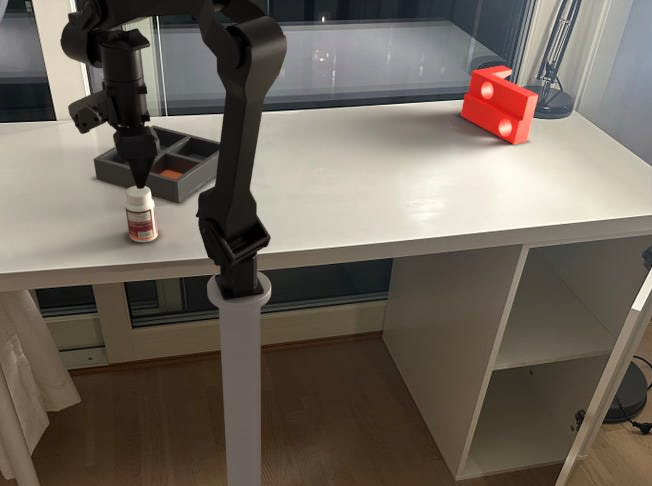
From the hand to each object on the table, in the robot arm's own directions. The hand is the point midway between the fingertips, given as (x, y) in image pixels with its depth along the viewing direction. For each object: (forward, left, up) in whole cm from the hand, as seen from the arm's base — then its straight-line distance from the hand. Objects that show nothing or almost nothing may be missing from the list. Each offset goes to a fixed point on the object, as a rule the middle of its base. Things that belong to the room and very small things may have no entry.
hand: (136, 175), depth 113 cm
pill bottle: (0, 0, -11) cm, 11 cm away
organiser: (+24, -8, -11) cm, 27 cm away
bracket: (+29, -87, -11) cm, 92 cm away
